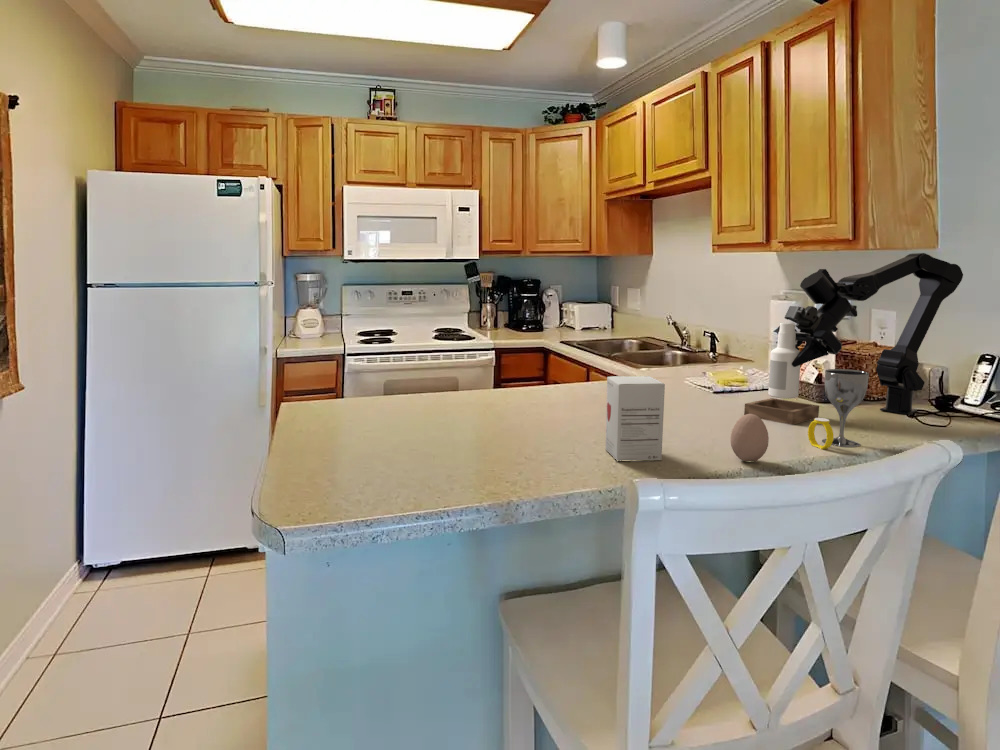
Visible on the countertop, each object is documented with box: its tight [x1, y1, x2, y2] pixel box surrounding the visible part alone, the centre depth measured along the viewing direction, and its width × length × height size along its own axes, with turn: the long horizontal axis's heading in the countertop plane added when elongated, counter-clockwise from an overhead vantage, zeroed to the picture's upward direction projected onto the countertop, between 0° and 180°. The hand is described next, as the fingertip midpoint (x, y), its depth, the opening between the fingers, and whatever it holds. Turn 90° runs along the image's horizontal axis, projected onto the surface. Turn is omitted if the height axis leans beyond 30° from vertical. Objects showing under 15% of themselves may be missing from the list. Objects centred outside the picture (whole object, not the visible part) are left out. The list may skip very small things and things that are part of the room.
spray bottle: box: [767, 322, 801, 400], centre depth 158 cm, size 7×7×18 cm
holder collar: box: [743, 397, 820, 425], centre depth 160 cm, size 12×12×3 cm
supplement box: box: [605, 375, 666, 461], centre depth 124 cm, size 9×9×15 cm
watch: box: [807, 417, 834, 450], centre depth 131 cm, size 6×3×6 cm, turn 12°
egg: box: [730, 414, 770, 462], centre depth 120 cm, size 7×7×9 cm
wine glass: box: [821, 368, 870, 448], centre depth 134 cm, size 8×8×15 cm
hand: (783, 363), depth 158 cm, fingers closed on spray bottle, 7 cm apart
